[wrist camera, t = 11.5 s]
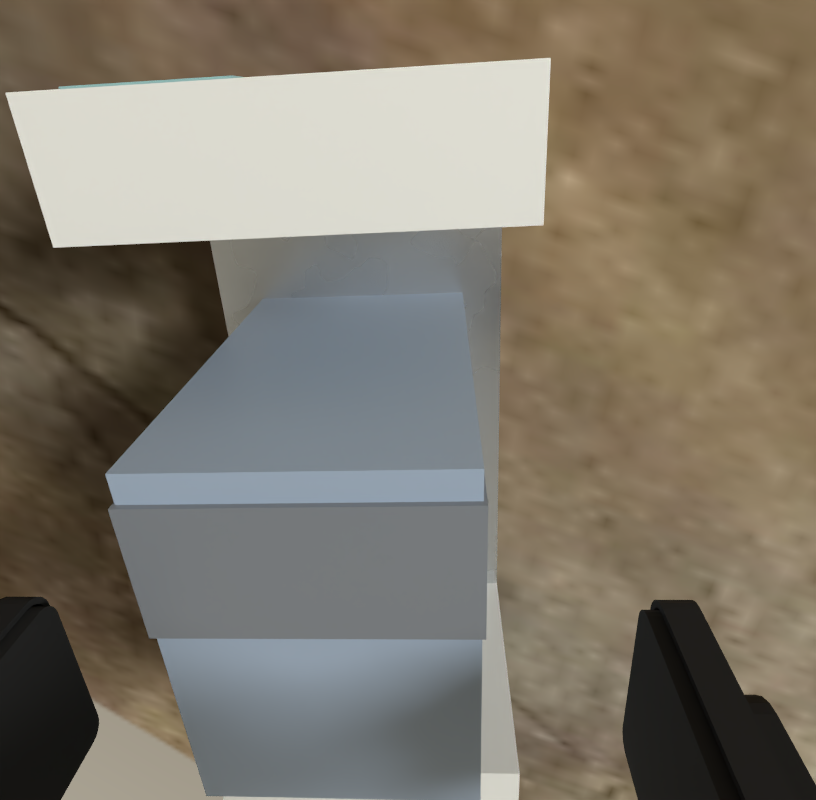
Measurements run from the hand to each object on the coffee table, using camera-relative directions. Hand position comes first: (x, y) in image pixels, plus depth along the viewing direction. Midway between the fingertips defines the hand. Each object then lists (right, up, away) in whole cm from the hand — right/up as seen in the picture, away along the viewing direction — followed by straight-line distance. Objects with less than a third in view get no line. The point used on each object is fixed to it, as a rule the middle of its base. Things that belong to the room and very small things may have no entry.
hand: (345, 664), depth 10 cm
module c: (0, +4, +7) cm, 8 cm away
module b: (0, +10, +4) cm, 11 cm away
